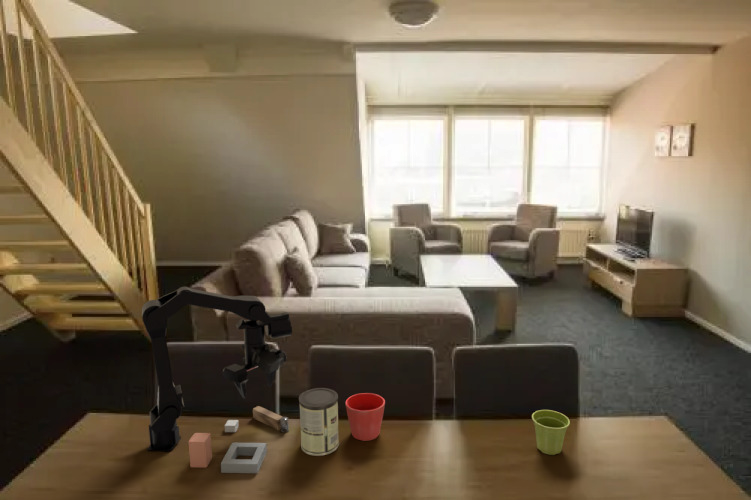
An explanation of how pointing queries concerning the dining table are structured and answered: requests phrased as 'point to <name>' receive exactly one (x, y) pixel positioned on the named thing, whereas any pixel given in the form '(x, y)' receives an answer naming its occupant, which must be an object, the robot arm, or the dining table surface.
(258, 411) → the leg bar
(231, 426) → the stop block
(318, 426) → the coffee can
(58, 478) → the dining table surface
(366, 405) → the flower pot
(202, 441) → the leg peg
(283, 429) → the pivot pin
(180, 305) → the robot arm
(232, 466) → the socket
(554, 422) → the plant pot
